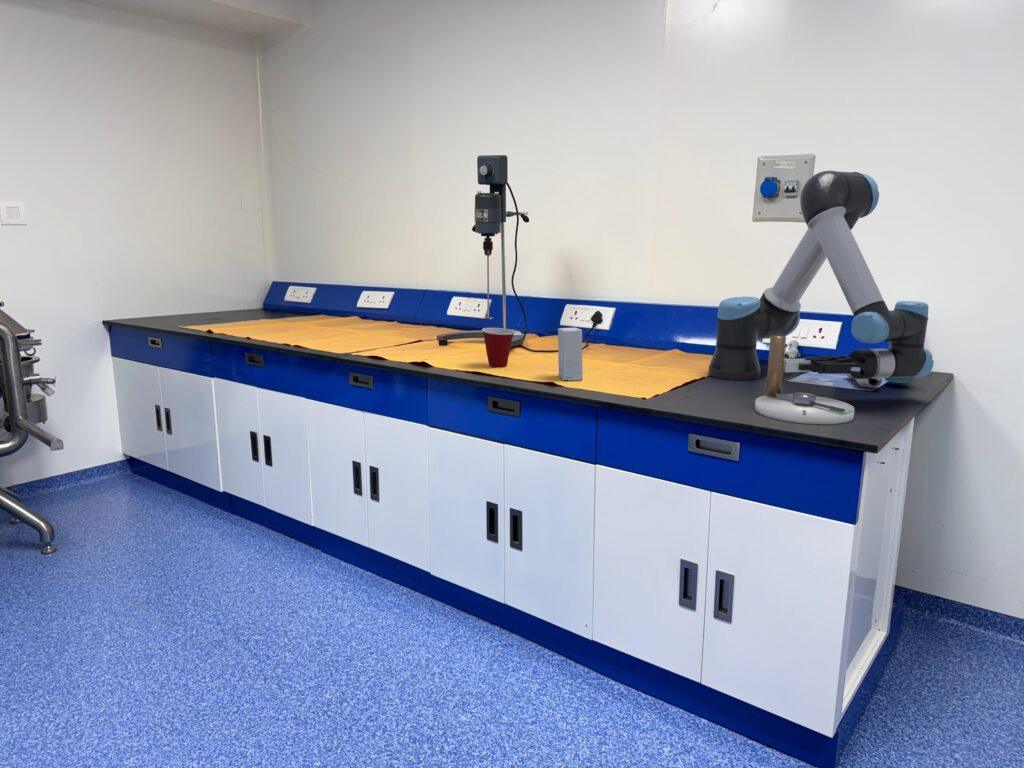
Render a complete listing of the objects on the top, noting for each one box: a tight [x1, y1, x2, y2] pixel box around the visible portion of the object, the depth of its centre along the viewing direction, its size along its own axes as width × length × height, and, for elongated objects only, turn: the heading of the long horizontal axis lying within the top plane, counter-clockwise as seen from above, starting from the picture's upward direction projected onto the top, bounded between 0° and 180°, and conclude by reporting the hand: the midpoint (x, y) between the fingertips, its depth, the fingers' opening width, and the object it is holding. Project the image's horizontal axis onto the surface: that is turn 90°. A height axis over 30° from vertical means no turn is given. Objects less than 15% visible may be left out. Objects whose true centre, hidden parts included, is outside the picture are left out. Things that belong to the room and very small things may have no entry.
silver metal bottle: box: [845, 374, 883, 389], centre depth 199 cm, size 6×7×20 cm
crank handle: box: [765, 335, 845, 412], centre depth 166 cm, size 21×5×15 cm, turn 30°
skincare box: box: [557, 327, 584, 381], centre depth 206 cm, size 8×6×15 cm
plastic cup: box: [481, 327, 516, 368], centre depth 225 cm, size 11×11×12 cm
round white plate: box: [754, 393, 855, 425], centre depth 168 cm, size 22×22×2 cm
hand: (782, 365), depth 174 cm, fingers closed on crank handle, 2 cm apart
